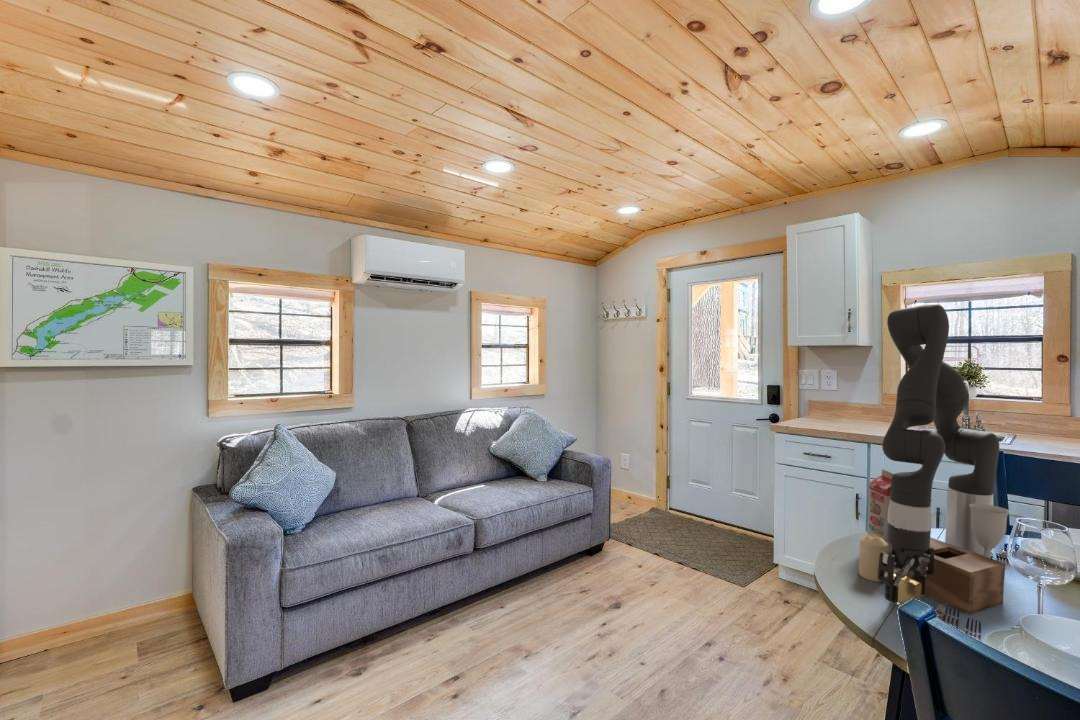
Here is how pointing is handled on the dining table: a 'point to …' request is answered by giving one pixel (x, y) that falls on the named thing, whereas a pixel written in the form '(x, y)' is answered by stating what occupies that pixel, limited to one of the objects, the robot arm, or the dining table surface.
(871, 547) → the candle
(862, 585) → the dining table surface
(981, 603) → the box
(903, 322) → the robot arm
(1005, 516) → the chalice
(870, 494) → the juice carton
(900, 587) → the brass token
